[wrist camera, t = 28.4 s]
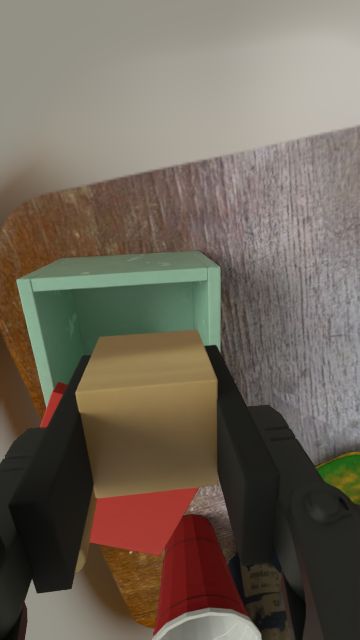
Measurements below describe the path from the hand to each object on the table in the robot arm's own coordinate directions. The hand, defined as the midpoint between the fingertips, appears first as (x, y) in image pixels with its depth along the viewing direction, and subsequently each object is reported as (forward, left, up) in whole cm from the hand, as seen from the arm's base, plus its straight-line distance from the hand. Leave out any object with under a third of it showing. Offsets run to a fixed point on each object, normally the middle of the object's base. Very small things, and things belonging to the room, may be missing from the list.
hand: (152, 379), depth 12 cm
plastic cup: (+32, +2, -16) cm, 35 cm away
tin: (+3, -2, -16) cm, 16 cm away
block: (0, 0, 0) cm, 0 cm away
